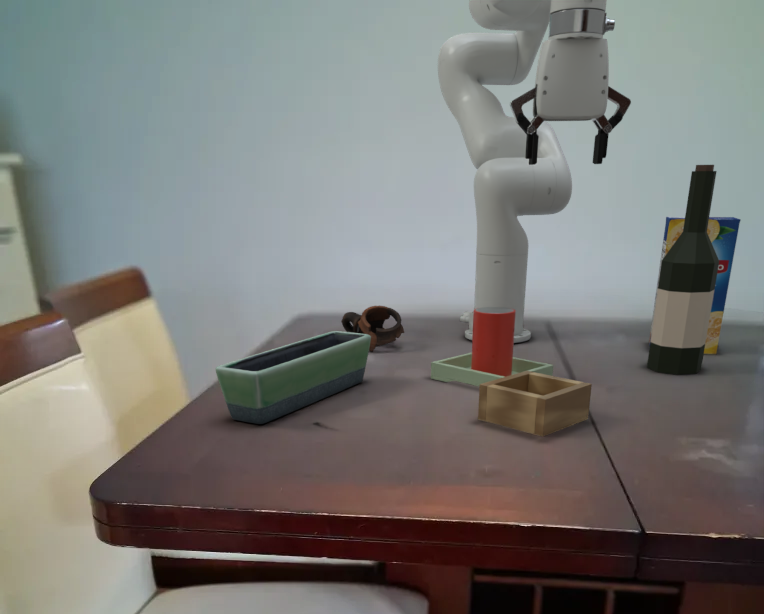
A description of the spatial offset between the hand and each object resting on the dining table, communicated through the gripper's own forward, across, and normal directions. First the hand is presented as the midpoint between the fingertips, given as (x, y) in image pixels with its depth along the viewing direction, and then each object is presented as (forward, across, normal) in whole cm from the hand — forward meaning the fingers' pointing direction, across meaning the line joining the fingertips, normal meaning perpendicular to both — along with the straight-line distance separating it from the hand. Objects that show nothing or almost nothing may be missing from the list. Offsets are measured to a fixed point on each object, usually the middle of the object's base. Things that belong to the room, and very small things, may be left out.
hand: (564, 164), depth 111 cm
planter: (+31, +38, +21) cm, 53 cm away
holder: (+30, +8, +32) cm, 45 cm away
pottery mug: (+31, +30, -16) cm, 45 cm away
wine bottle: (+31, -20, +3) cm, 36 cm away
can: (+30, +11, +10) cm, 33 cm away
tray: (+30, +11, +10) cm, 34 cm away
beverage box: (+31, -26, -12) cm, 42 cm away
